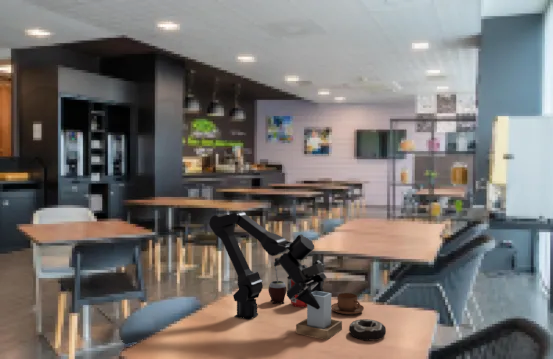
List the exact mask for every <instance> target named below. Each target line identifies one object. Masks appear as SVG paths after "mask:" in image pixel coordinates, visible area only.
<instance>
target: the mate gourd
mask: <svg viewBox="0 0 553 359" xmlns="http://www.w3.org/2000/svg"><path fill="white" fill-rule="evenodd" d="M274 263H275V261H273V264H274ZM274 270H275V277H276V280H272V281H271V282H270V284H268V294H269V297H270V300H269V301H270V302H272V303H271V304H272V305H276V304H281V305H284V304H285V298H286V295H287V285H286V283H285V282H284V281H282V280H279V277H278V268H277V266H276V267H275V266H274Z"/></svg>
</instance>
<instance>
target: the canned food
mask: <svg viewBox="0 0 553 359" xmlns="http://www.w3.org/2000/svg"><path fill="white" fill-rule="evenodd" d="M294 284H295V283H294V282H293V281H292V279H290V288H291V287H292V286H293V285H294ZM296 297H298V295H297V294H296V295H295V298H293V299H291V300H290V305H291V306H293V307H295V308H307V304H306V303H304V302H302V301H300V300H298V299H297V300H296Z"/></svg>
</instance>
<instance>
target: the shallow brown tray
mask: <svg viewBox="0 0 553 359" xmlns="http://www.w3.org/2000/svg"><path fill="white" fill-rule="evenodd" d="M342 330H343V321H342V320H339V319H333V318H331V325H330V326H328V327H327V328H325V329H319V328H314V327H309V326H307V318H305V319H303V320H301V321H300V322H298V323H296V324H295V333H296V334H299V335H302V336H305V337H306V336H307V337H310V338H315V339H321V340H325V341H328V340H330V339H331V338H332V337H334V336H336V334H338V333H339V332H341V331H342Z"/></svg>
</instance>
